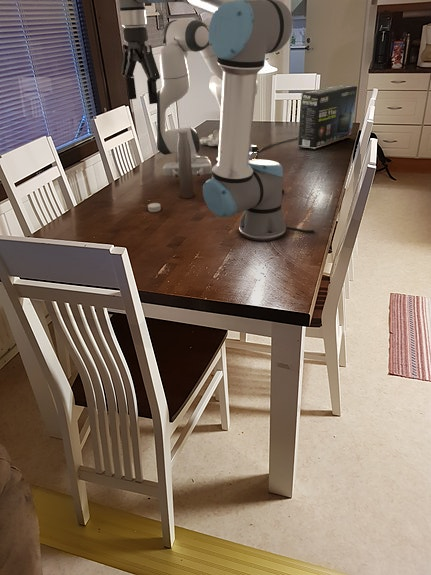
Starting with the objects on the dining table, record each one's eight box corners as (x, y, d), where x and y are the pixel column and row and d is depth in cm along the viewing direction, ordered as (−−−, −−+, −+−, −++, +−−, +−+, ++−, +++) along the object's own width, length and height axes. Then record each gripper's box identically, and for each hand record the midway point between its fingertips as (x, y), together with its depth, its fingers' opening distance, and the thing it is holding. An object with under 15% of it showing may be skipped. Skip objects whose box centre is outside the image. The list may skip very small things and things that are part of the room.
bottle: (194, 194, 183) (190, 129, 171) (191, 198, 179) (187, 132, 166) (182, 193, 184) (177, 129, 171) (179, 198, 180) (174, 132, 167)
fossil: (223, 141, 238) (204, 123, 241) (212, 159, 245) (194, 141, 248) (240, 140, 252) (222, 123, 255) (230, 156, 258) (212, 139, 262)
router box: (314, 151, 231) (318, 94, 217) (296, 148, 237) (299, 92, 224) (352, 138, 251) (358, 85, 238) (335, 135, 258) (340, 83, 245)
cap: (158, 206, 173) (157, 202, 172) (162, 210, 169) (162, 205, 169) (146, 209, 171) (146, 204, 170) (150, 212, 168) (150, 208, 167)
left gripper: (163, 158, 194) (160, 167, 182) (211, 156, 194) (212, 165, 182) (164, 173, 197) (162, 183, 186) (212, 170, 198) (212, 181, 186)
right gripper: (167, 26, 133) (173, 103, 144) (125, 26, 150) (133, 95, 161) (144, 27, 129) (152, 107, 140) (104, 27, 146) (114, 98, 157)
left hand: (187, 174), depth 184 cm, fingers open, 8 cm apart
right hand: (142, 101), depth 151 cm, fingers open, 13 cm apart
